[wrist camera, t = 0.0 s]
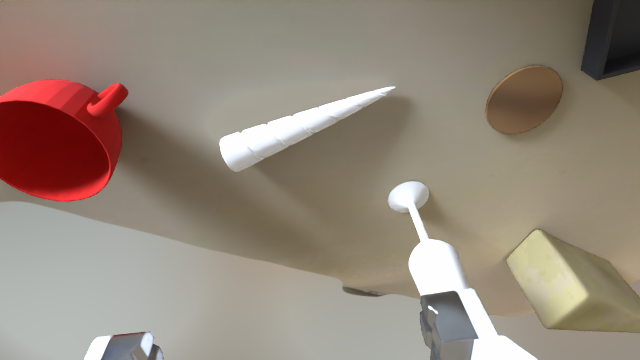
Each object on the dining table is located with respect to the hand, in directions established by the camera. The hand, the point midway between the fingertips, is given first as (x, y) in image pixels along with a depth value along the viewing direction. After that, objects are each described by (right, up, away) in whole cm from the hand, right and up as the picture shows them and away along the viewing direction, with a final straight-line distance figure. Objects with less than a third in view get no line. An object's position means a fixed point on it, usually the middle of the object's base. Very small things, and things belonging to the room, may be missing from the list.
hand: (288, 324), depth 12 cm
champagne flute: (+15, +2, +50) cm, 53 cm away
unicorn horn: (-2, +13, +40) cm, 42 cm away
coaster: (+28, +15, +41) cm, 52 cm away
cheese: (+48, -10, +63) cm, 80 cm away
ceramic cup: (-27, +14, +36) cm, 47 cm away
